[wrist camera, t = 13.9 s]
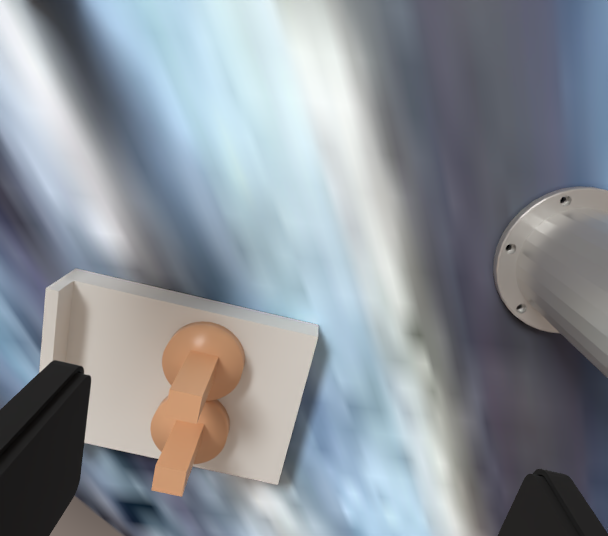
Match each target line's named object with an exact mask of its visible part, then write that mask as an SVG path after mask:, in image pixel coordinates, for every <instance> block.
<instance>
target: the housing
mask: <svg viewBox="0 0 608 536" xmlns="http://www.w3.org/2000/svg"><path fill="white" fill-rule="evenodd" d="M317 340H318V325H317V324H313V323H309V322H304V321H300V320H296V319H291V318H287V317H283V316H278V315H274V314H270V313H266V312H261V311H257V310H253V309H248V308H244V307H240V306H236V305H231V304H227V303H223V302H218V301H214V300H210V299H205V298H201V297H197V296H193V295H188V294H184V293H180V292H175V291H171V290H167V289H162V288H158V287H154V286H150V285H145V284H141V283H137V282H132V281H128V280H124V279H119V278H115V277H111V276H107V275H102V274H98V273H94V272H89V271H85V270H81V269H74V270H73V271H71V272H70V273H68V274H67V275H65V276H64V277H62V278H61V279H59V280H58V281H56V282H55V283H53V284H52V285H50V286H49V287H47V288H46V294H45V307H44V320H43V333H42V345H41V358H40V371H39V373H40V372H41V371H42V370H43V369H44V368H45V367H46V366H47V365H48V364H49V363H50V362H52V361H54V360H57V361H62V362H66V363H70V364H75V365H79V366H82V367H83V368H84V374H86V375H90V376H91V388H90V397H89V405H88V414H87V423H86V431H85V440H84V443H87V444H92V445H97V446H101V447H106V448H110V449H115V450H120V451H124V452H129V453H133V454H138V455H143V456H147V457H152V458H156V459H159V457H160V455H161V453H162V452H161V451H160V450H159V449H158V448H157V446H156V445H155V443H154V441H153V439H152V436H151V430H150V427H151V421H152V418H153V416H154V414H155V412H156V410H157V409H158V407H159V405H160V403H161V402H162V401H163V400H164V399H165V398H166V397H167V396H168V401H167V407H166V412H165V417H166V418H171V419H175V420H180V421H184V422H189V423H193V424H197V422H198V420H199V417H200V415H201V412H202V410H203V407H204V404H205V402H206V401H211V400H216V399H217V400H218V401H219V402H220V403H221V404H222V405H223V406H224V408H225V409H226V411H227V413H228V416H229V420H230V428H229V433H228V436H227V440H226V443H225V446H224V448H223V449H222V451H221V452H220V453H219V454H218V455H217V456H216V457H215V458H213V459H211V460H209V461H207V462H204V463H200V464H193V467H198V468H202V469H207V470H211V471H216V472H221V473H225V474H230V475H234V476H239V477H244V478H248V479H253V480H257V481H262V482H266V483H271V484H276V485H278V482H279V479H280V475H281V471H282V468H283V464H284V460H285V457H286V453H287V450H288V446H289V442H290V439H291V435H292V431H293V428H294V424H295V420H296V417H297V413H298V409H299V406H300V402H301V398H302V395H303V391H304V388H305V384H306V380H307V377H308V373H309V369H310V366H311V362H312V358H313V355H314V351H315V347H316V344H317Z"/></svg>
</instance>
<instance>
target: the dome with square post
mask: <svg viewBox="0 0 608 536" xmlns="http://www.w3.org/2000/svg"><path fill="white" fill-rule="evenodd" d="M167 401H168V396H167V397H166V398H165V399H164V400H163V401H162V402H161V403H160V405H159V407H158V409H157V410H156V412H155V414H154V416H153V418H152V421H151V427H150V430H151V436H152V439H153V441H154V443H155V445H156V446H157V448H158V449H159V450H160V451H161V452H162V453H161V455H160V457H159V459H158V461H157V463H156V466H155V472H154V478H153V484H152V490H153V491H158V492H162V493H167V494H172V495H177V496H181V497H182V495H183V492H184V489H185V486H186V484H187V481H188V478H189V475H190V472H191V470H192V467H193V464H200V463H204V462H207V461H209V460H211V459H213V458H215V457H216V456H217V455H218V454H219V453H220V452H221V451H222V449H223V448H224V446H225V443H226V440H227V436H228V433H229V428H230V420H229V416H228V413H227V411H226V409H225V408H224V406H223V405H222V404H221V403H220V402H219V401H218V400H217V399H216V400H211V401H206V402H205V404H204V407H203V410H202V412H201V415H200V417H199V420H198V422H197V424H193V423H189V422H184V421H180V420H175V419H171V418H166V417H165V412H166V407H167Z"/></svg>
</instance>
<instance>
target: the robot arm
mask: <svg viewBox="0 0 608 536" xmlns="http://www.w3.org/2000/svg"><path fill="white" fill-rule="evenodd" d="M562 197H563V201H561V202H560V199H561V198H562ZM509 244H510V247H509V248H508V249H506V247H507V245H509ZM493 275H494V280H495V285H496V289H497V291H498V293H499V296H500V298H501V300H502V301H503V302H504V304H505V305H506V306H507V308H508V309H509V310H510V311H511V312H512V313H513V314H514V315H515V316H516V317H517V318H518V319H520V320H521V321H522V322H524V323H525V324H527V325H529V326H531V327H533V328H536V329H538V330H542V331H546V332H550V333H561V334H562V335H563V336H564V337H565V338H566V339H567V340H568V341H569V342H570V343H571V344H572V345H573V346H574V347H575V348H576V349H577V350H579V351H580V352H581V353H582V354H583V355H584V356H585V357H586V358H587V359H588V360H589V361H590V362H591V363H592V364H593V365H594V366H595V367H596V368H597V369H598V370H600V371H601V372H602V373H603V374H604V375H605V376H606V377H607V378H608V191H607V190H603V189H599V188H595V187H581V186H578V187H570V188H563V189H560V190H557V191H554V192H551V193H548V194H546V195H544V196H542V197H540V198H538V199H536V200H534V201H533V202H532V203H530V204H529V205H528V206H526V207H525V208H524V209H522V210H521V211H520V212H519V213H518V214H517V215H516V216H515V217H514V218H513V220H512V221H511V222H510V223H509V225H508V226H507V228H506V229H505V231H504V232H503V234H502V236H501V238H500V241H499V243H498V245H497V248H496V252H495V257H494V267H493ZM518 305H520V306H519V307H517V306H518ZM90 388H91V376H90V375H86V374H84V368H83V367H82V366H79V365H75V364H70V363H66V362H62V361H57V360H54V361H52V362H50V363H49V364H48V365H47V366H46V367H45V368H44V369H43V370H42V371H41V372H40V373H39V374H38V375H37V376H36V377H35V378H33V379H32V380H31V381H30V382H29V383H28V384H27V385H26V386H25V387H24V388H23V389H22V390H21V391H20V392H19V393H18V394H17V395H16V396H14V397H13V398H12V399H11V400H10V401H9V402H8V403H7V404H6V405H5V406H4V407H3V408H2V409H1V410H0V536H49V535H50V533H51V532H52V530H53V529H54V527H55V525H56V524H57V522H58V521H59V519H60V518H61V516H62V514H63V513H64V511H65V510H66V508H67V506H68V505H69V503H70V502H71V500H72V498H73V497H74V495H75V493H76V490H77V488H78V485H79V481H80V474H81V466H82V457H83V448H84V440H85V431H86V423H87V414H88V405H89V397H90ZM498 536H608V533H607V532H606V530H605V529H604V527H603V526H602V524H601V523H600V521H599V520H598V518H597V517H596V515H595V514H594V512H593V511H592V509H591V508H590V506H589V505H588V503H587V502H586V500H585V499H584V497H583V496H582V494H581V493H580V491H579V490H578V488H577V487H576V486H575V484H574V483H573V481H572V480H571V478H570V477H569V476H567V475H565V474H561V473H556V472H552V471H547V470H543V469H537V470H536V471H535V472H534V473H533V474H528V475H527V476H526V477H525V479H524V480H523V483H522V485H521V487H520V489H519V491H518V493H517V495H516V498H515V500H514V502H513V504H512V506H511V508H510V510H509V513H508V515H507V517H506V519H505V521H504V523H503V525H502V527H501V530H500V532H499V534H498Z"/></svg>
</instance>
